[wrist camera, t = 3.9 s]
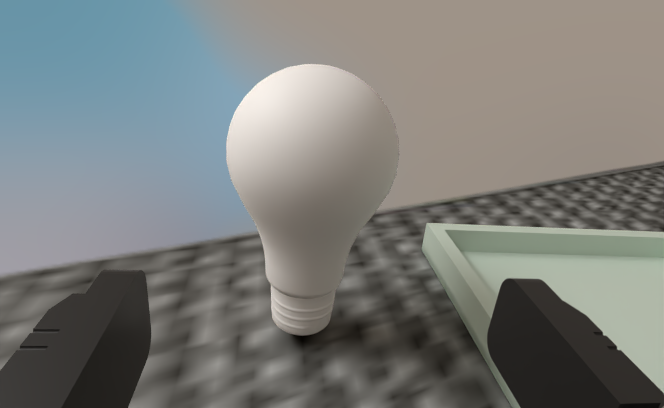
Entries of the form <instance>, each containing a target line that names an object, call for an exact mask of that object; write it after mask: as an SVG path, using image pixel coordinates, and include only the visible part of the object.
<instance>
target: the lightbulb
mask: <svg viewBox="0 0 664 408" xmlns="http://www.w3.org/2000/svg"><path fill="white" fill-rule="evenodd" d="M226 146H227V147H226V148H227V165H228V169H229V173H230V177H231V181H232V182H233V184H234V186H235V188H236V191H237V192H238V194H239V196H240V198H241V200H242V202H243V204H244V206H245V208H246V209H247V211H248V212H249V214H250V216H251V217H252V219H253V221H254V222H255V224H256V227H257V229H258V232H259V235H260V237H261V240H262V243H263V249H264V254H265V267H266V276H267V279H268V281H269V283H270V284H271V302H272V305H271V309H272V318H273V320H274V322H275V324H276V325H277V326H278V327H279V328H280V329H282V330H283V331H285V332H287V333H290V334H294V335H302V336H303V335H311V334H315V333H317V332H319V331H321V330H322V329H324V328H325V327H326V326H327V325H328V323H329V322H330V318H331V313H332V309H333V302H334V299H335V290H336V288H337V287H338V286H339V284H340V283H341V281H342V278H343V274H344V268H345V263H346V260H347V257H348V254H349V251H350V248H351V246H352V244H353V243H354V241H355V239H356V237H357V235H358V234H359V232H360V230H361V229H362V228H363V227H364V225H365V224H366V223H367V222H368V221H369V219H370V218H371V217H372V216H373V214H374V213H375V212H376V210H377V209H378V207H379V206H380V204H381V203H382V202H383V200H384V199H385V197H386V196H387V194H388V193H389V191H390V189H391V186H392V184H393V181H394V179H395V176H396V173H397V166H398V160H399V141H398V136H397V131H396V126H395V123H394V121H393V119H392V116H391V114H390V112H389V110H388V108H387V107H386V105H385V104H384V102H383V101H382V99H381V98H380V97H379V95H378V94H377V93H376V92H375V91H374V90H373V89H372V88H371V87H370V86H369V85H368V84H367V83H365V82H364V81H362V80H361V79H359V78H358V77H356V76H355V75H353V74H352V73H349V72H347V71H344V70H341V69H339V68H336V67H333V66H328V65H319V64H303V65H299V66H293V67H288V68H285V69H283V70H281V71H278V72H276V73H274V74H271V75H270V76H268V77H267V78H265V79H264V80H262V81H261V82H259V83H258V84H257V85H256V86H255V87H254V88H253V89H252V90H251V91H250V92H249V93H248V94H247V95H246V96H245V97H244V99H243V100H242V102H241V103H240V105H239V107H238V108H237V109H236V111H235V113H234V116H233V119H232V121H231V124H230V127H229V132H228V137H227V145H226Z"/></svg>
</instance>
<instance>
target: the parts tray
mask: <svg viewBox="0 0 664 408" xmlns="http://www.w3.org/2000/svg"><path fill="white" fill-rule="evenodd" d="M422 251H423V253H424V255H425V256H426V258H427V260H428V262H429V263H430V265H431V267H432V269H433V270H434V272H435V274H436V276H437V277H438V279H439V281H440V283H441V284H442V286H443V288H444V290H445V291H446V293H447V295H448V297H449V298H450V300H451V302H452V304H453V305H454V307H455V309H456V310H457V312H458V314H459V316H460V317H461V319H462V321H463V323H464V324H465V326H466V328H467V330H468V331H469V333H470V335H471V337H472V338H473V340H474V342H475V344H476V345H477V347H478V349H479V351H480V352H481V354H482V356H483V358H484V359H485V361H486V363H487V365H488V366H489V368H490V370H491V372H492V373H493V375H494V377H495V379H496V380H497V382H498V384H499V386H500V387H501V389H502V391H503V393H504V394H505V396H506V398H507V400H508V401H509V403H510V405H511V407H512V408H520V406H519V404H518V403H517V401H516V399H515V398H514V396H513V394H512V393H511V391H510V389H509V388H508V386H507V384H506V382H505V381H504V379H503V377H502V376H501V374H500V372H499V371H498V369H497V367H496V366H495V364H494V362H493V361H492V359H491V357H490V354H489V351H488V345H487V333H488V328H489V325H490V321H491V318H492V314H493V311H494V307H495V304H496V300H497V297H498V293H499V290H500V287H501V284H502V282H503V281H504V280H505V279H507V278H524V279H541V280H543V281H544V282H545V283H546V284H547V285H548V286H549V287H550V288H551V289H552V290H553V291H554V292H555V293H556V294H557V295H558V296H559V297H560V298H561V299H562V301H565V302H566V303H568V304H569V305H571V306H573V307H574V308H576V309H577V310H579V311H580V312H582V313H584V314H585V315H587V316H588V317H589V318H590V320H591V321H592V322H593V323H594V324H595V325H596V326H597V327H598V328H599V329H600V330H601V331H602V332H603V335H606V336H607V337H608V338H609V339H610V340H611V341H612V342H613V343H614V344H615V345H616V346H617V349H618V350H621V351H622V352H623V353H624V354H625V355H626V356H627V357H628V358H629V359H630V360H631V361H632V362H633V363H634V364H635V365H636V366H637V367H638V368H639V369H640V370H641V371H642V372H643V373H644V374H645V375H646V376H647V377H648V378H649V379H650V380H651V381H652V382H653V383H654V384H655V385H656V386H657V387H658V388H659V389H660V390H661V391H662V392H663V393H664V232H647V231H621V230H595V229H569V228H543V227H517V226H490V225H464V224H438V223H427V225H426V230H425V235H424V240H423V245H422Z"/></svg>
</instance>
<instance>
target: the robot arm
mask: <svg viewBox="0 0 664 408" xmlns="http://www.w3.org/2000/svg"><path fill="white" fill-rule="evenodd" d="M150 343H151V324H150V314H149V303H148V293H147V283H146V277H145V273H144V272H143V271H142V270H103V271H101V273H100V274H99V275H98V277H97V278H96V280H95V281H94V282H93V284H92V285H91V287H90V288H89V289H88V291H87V292H86V294H72V295H70V296H69V297H67V298H66V299H64V300H63V301H61V302H60V303H58V304H57V305H55V306H54V307H52V308H51V309H49V310H48V311H47V313H46V314H45V315H44V316H43V318H42V319H41V320H40V321H39V323H38V324H37V325H36V327H35V328H34V329H33V333H30V334H29V335H28V337H27V338H26V339H25V340H24V342H23V343H22V344H21V345H20V350H16V352H15V353H14V354H13V356H12V357H11V358H10V359H9V361H8V362H7V363H6V364H5V366H4V367H3V368H2V369H1V371H0V408H128V406H129V403H130V401H131V398H132V396H133V393H134V391H135V388H136V386H137V383H138V381H139V378H140V376H141V373H142V371H143V368H144V366H145V363H146V360H147V357H148V354H149V349H150ZM487 345H488V351H489V354H490V357H491V359H492V361H493V362H494V364H495V366H496V367H497V369H498V371H499V372H500V374H501V376H502V377H503V379H504V381H505V382H506V384H507V386H508V388H509V389H510V391H511V393H512V394H513V396H514V398H515V399H516V401H517V403H518V404H519V406H520V408H664V393H663V392H662V391H661V390H660V389H659V388H658V387H657V386H656V385H655V384H654V383H653V382H652V381H651V380H650V379H649V378H648V377H647V376H646V375H645V374H644V373H643V372H642V371H641V370H640V369H639V368H638V367H637V366H636V365H635V364H634V363H633V362H632V361H631V360H630V359H629V358H628V357H627V356H626V355H625V354H624V353H623V352H622V351H621V350H618V349H617V346H616V345H615V344H614V343H613V342H612V341H611V340H610V339H609V338H608V337H607V336H606V335H603V332H602V331H601V330H600V329H599V328H598V327H597V326H596V325H595V324H594V323H593V322H592V321H591V320H590V318H589V317H588V316H587V315H585V314H584V313H582V312H580V311H579V310H577V309H576V308H574V307H573V306H571V305H569V304H568V303H566V302H565V301H562V299H561V298H560V297H559V296H558V295H557V294H556V293H555V292H554V291H553V290H552V289H551V288H550V287H549V286H548V285H547V284H546V283H545V282H544V281H543V280H541V279H524V278H507V279H505V280H504V281H503V282H502V284H501V287H500V290H499V293H498V297H497V300H496V304H495V307H494V311H493V314H492V318H491V321H490V325H489V328H488V333H487Z"/></svg>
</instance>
